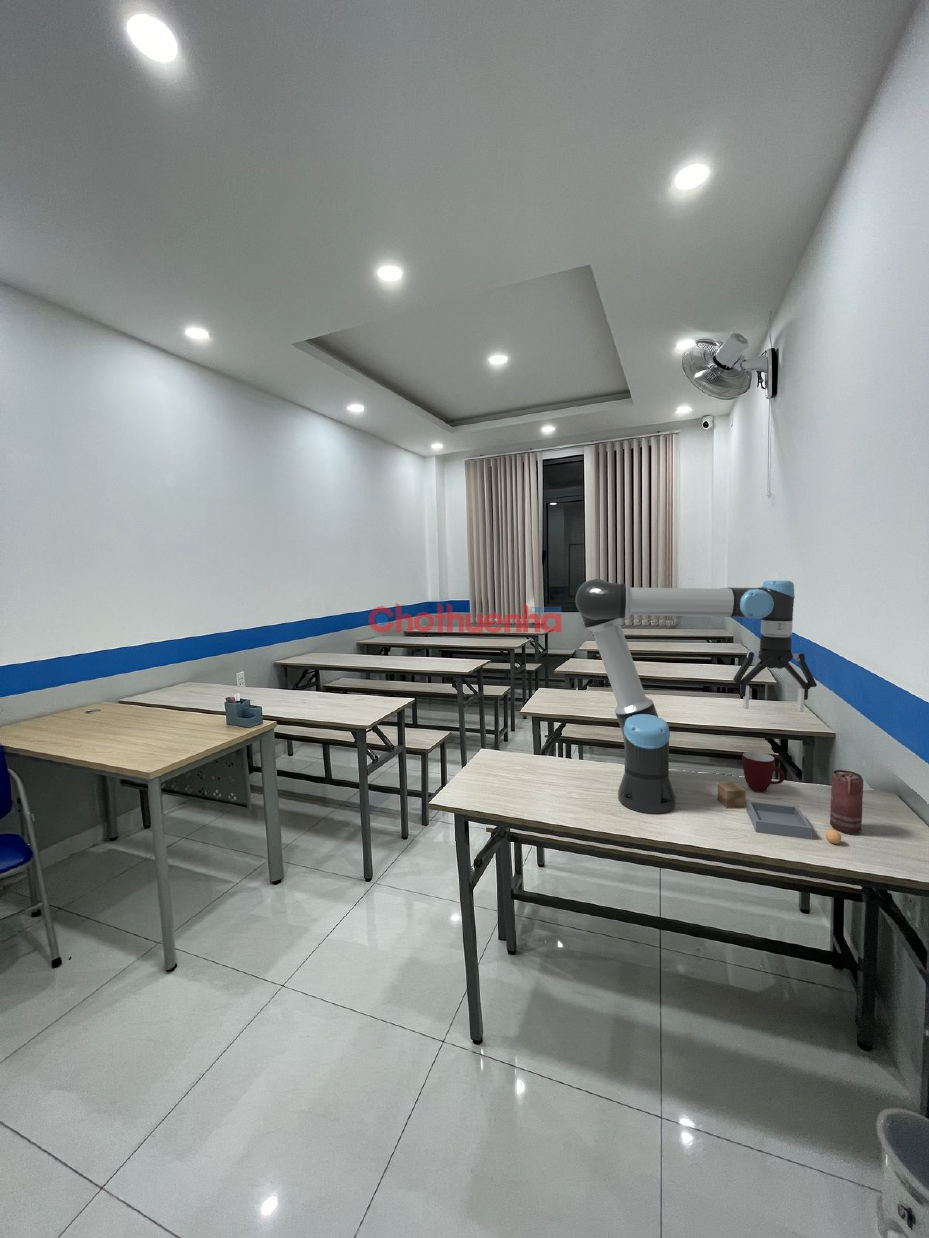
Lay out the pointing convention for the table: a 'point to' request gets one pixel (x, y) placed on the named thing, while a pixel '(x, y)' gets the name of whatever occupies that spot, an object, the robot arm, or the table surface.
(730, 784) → the walnut block
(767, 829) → the tray
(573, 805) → the table surface
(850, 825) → the can
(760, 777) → the mug
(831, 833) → the rubber ball
